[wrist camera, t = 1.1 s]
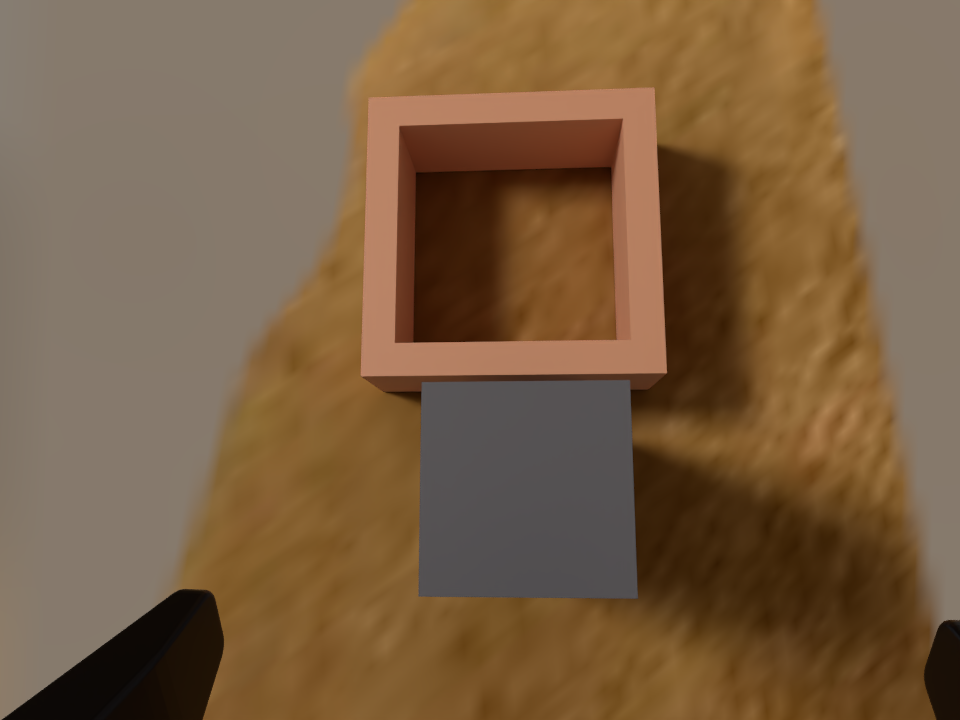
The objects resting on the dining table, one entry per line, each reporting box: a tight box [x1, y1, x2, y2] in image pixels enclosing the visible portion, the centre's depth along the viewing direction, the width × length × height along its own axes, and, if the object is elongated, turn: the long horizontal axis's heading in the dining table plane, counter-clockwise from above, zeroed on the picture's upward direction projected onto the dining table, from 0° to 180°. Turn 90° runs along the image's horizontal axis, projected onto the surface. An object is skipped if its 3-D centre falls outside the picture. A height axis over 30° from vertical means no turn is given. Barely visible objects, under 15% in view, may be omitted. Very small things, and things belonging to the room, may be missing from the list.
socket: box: [361, 88, 667, 392], centre depth 24 cm, size 9×9×4 cm
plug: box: [419, 380, 638, 599], centre depth 19 cm, size 4×4×11 cm
